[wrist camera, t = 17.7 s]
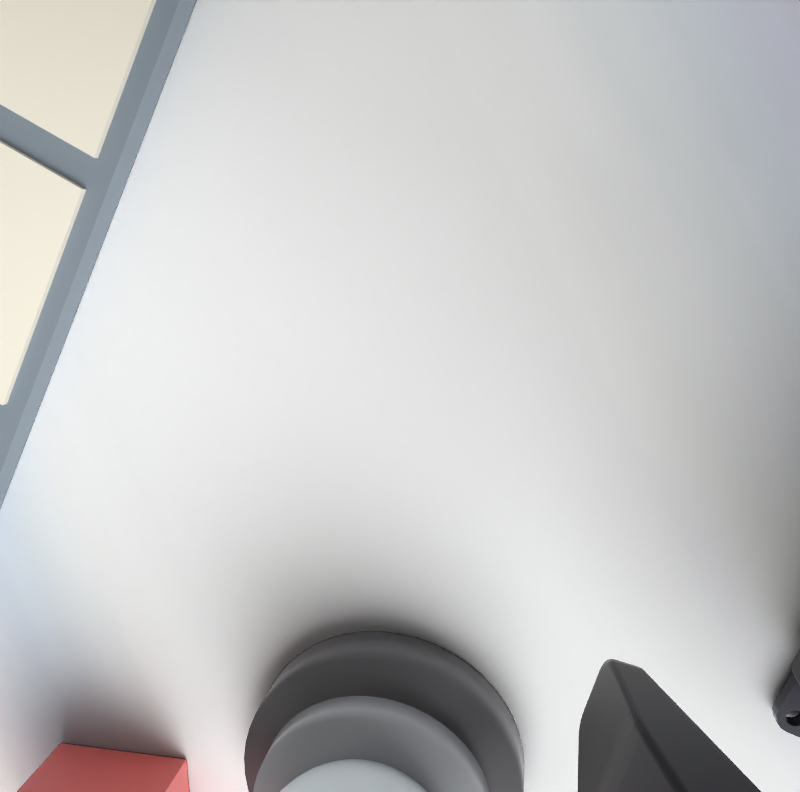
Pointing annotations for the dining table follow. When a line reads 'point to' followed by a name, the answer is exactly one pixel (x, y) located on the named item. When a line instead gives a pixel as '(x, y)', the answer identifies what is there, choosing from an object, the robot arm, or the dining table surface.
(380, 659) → the base
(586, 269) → the dining table surface
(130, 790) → the red die
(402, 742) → the dome popper
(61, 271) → the game board
